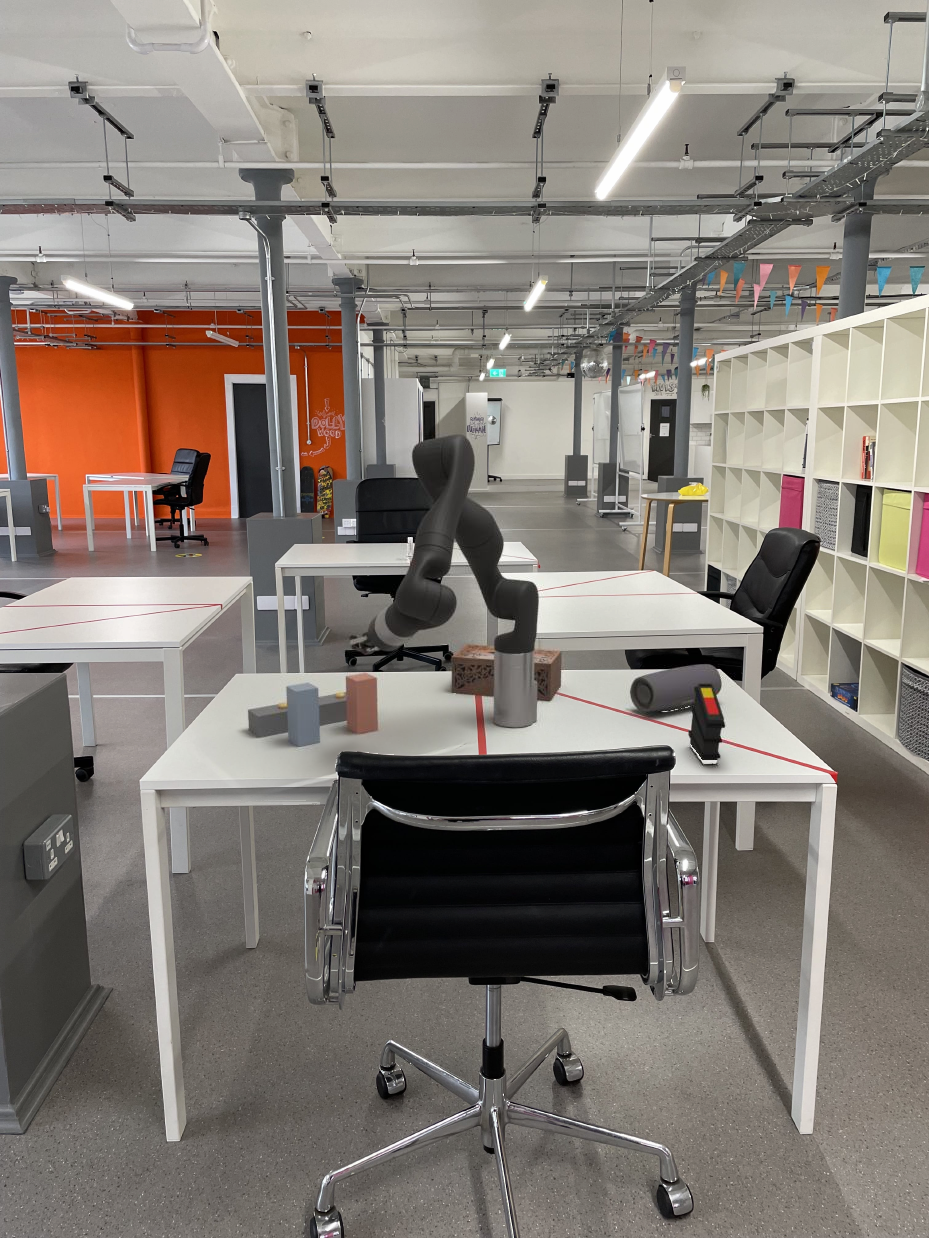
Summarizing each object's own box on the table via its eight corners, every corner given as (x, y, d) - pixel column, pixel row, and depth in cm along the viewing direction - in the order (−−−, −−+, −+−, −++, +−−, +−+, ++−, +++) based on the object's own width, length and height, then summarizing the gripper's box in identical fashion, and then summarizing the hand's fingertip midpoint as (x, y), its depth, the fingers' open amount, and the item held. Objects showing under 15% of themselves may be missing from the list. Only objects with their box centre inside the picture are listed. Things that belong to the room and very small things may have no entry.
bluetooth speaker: (693, 696, 227) (695, 658, 225) (722, 705, 219) (724, 666, 217) (627, 711, 215) (628, 670, 213) (654, 721, 207) (656, 679, 205)
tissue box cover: (451, 694, 229) (451, 656, 227) (467, 679, 243) (467, 644, 241) (550, 702, 222) (551, 663, 220) (560, 687, 236) (561, 650, 234)
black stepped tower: (702, 734, 193) (713, 682, 183) (715, 780, 182) (728, 727, 173) (684, 734, 193) (695, 682, 183) (697, 780, 182) (709, 727, 173)
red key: (366, 724, 201) (365, 672, 198) (377, 730, 197) (376, 677, 194) (347, 728, 198) (345, 676, 195) (357, 734, 194) (356, 681, 191)
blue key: (309, 735, 193) (308, 682, 190) (320, 742, 189) (318, 687, 186) (288, 740, 190) (286, 686, 188) (298, 746, 186) (296, 691, 184)
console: (360, 713, 213) (359, 685, 211) (401, 734, 197) (400, 705, 196) (248, 734, 197) (246, 705, 196) (283, 760, 182) (281, 728, 180)
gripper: (421, 603, 173) (391, 628, 188) (357, 612, 167) (331, 636, 182) (429, 640, 172) (399, 662, 187) (366, 650, 166) (339, 672, 181)
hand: (365, 649), depth 185 cm, fingers closed
